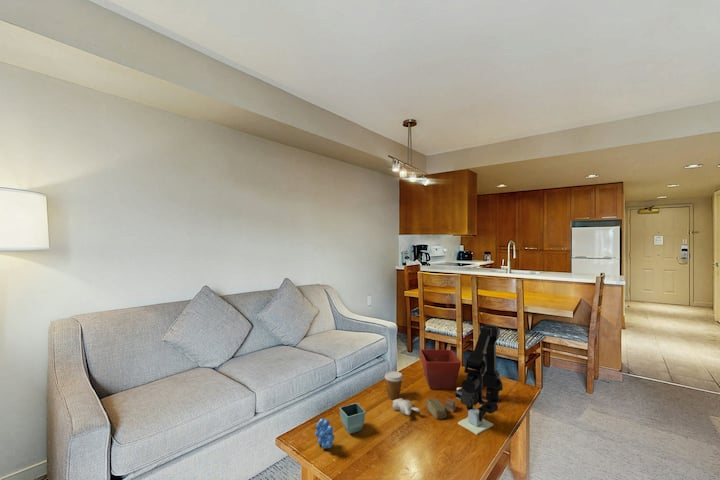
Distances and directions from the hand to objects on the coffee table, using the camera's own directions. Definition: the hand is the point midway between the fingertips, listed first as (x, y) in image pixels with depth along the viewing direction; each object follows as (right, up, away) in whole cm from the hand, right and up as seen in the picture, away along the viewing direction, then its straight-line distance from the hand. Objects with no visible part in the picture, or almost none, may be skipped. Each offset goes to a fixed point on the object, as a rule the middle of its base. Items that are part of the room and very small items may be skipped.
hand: (475, 418), depth 147 cm
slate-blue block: (0, -2, 0) cm, 2 cm away
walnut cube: (-8, -3, +13) cm, 15 cm away
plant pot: (-7, -2, +39) cm, 40 cm away
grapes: (-65, -3, -16) cm, 67 cm away
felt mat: (0, -3, 0) cm, 3 cm away
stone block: (-16, -3, +9) cm, 18 cm away
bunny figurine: (-30, -3, +11) cm, 32 cm away
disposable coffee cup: (-34, -2, +25) cm, 42 cm away
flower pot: (-55, -3, -5) cm, 56 cm away
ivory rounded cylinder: (+1, -2, +24) cm, 24 cm away
